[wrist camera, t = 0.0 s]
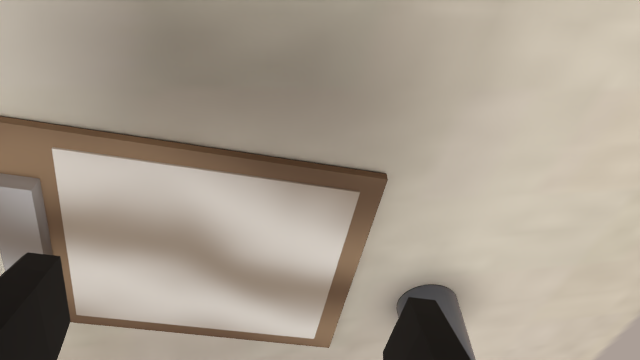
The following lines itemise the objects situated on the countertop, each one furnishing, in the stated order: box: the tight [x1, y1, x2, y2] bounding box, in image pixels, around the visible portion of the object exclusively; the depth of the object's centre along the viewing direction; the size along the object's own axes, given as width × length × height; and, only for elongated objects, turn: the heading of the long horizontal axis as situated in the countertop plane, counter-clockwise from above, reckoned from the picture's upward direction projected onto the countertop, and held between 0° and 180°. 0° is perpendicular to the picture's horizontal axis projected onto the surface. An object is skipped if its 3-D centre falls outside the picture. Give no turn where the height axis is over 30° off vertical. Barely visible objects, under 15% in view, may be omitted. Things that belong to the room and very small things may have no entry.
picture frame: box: [0, 116, 388, 348], centre depth 23 cm, size 12×16×1 cm
